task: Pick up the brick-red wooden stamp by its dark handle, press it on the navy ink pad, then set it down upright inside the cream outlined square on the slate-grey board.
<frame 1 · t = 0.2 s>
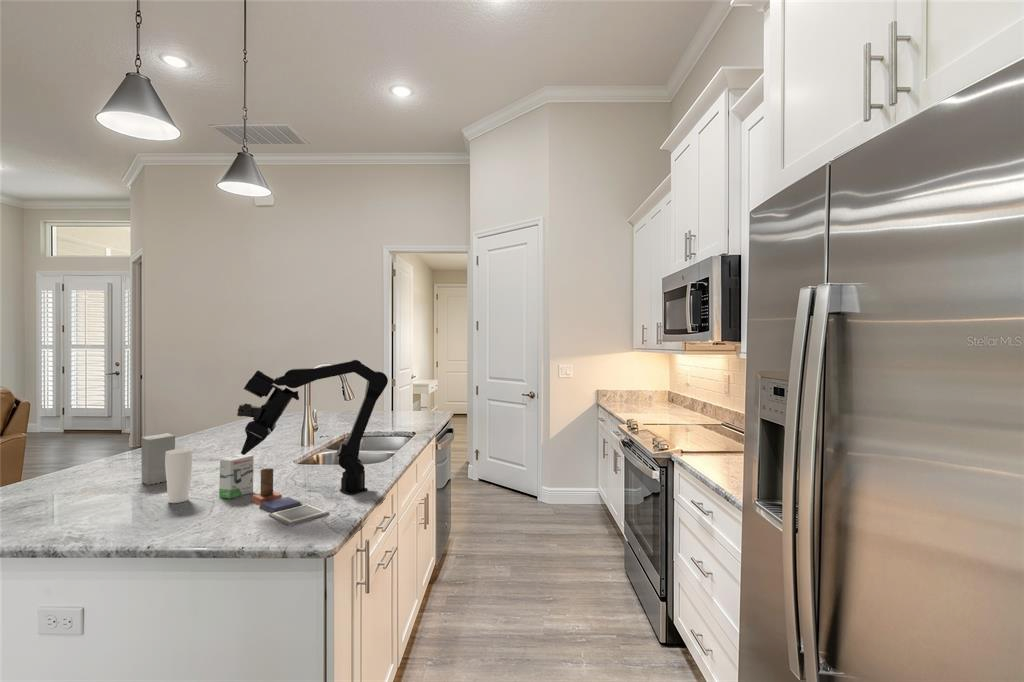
hand: (245, 451, 151), 15 cm above the worktop, tool tilted 30°, fingers open, 9 cm apart
marked board: (299, 515, 139), on the worktop
stamp: (266, 501, 151), on the worktop
ink pad: (281, 507, 145), on the worktop
skincare box: (158, 482, 172), on the worktop
drinking glass: (178, 501, 151), on the worktop
ink box: (236, 495, 158), on the worktop
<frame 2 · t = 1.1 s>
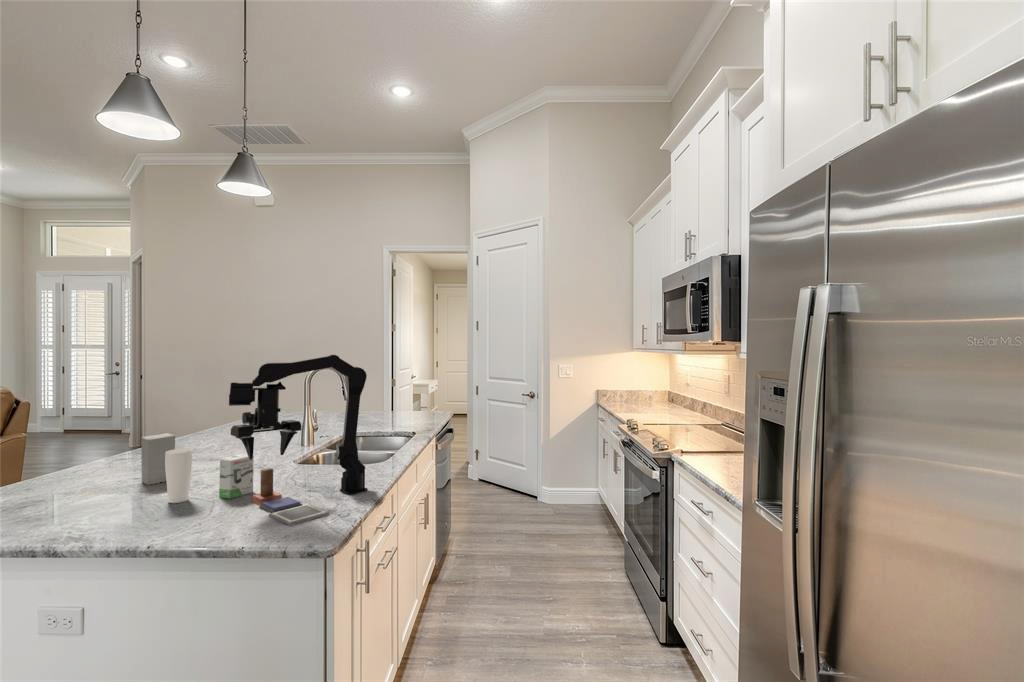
hand: (266, 457, 151), 13 cm above the worktop, tool pointing down, fingers open, 9 cm apart
nothing on the worktop moved.
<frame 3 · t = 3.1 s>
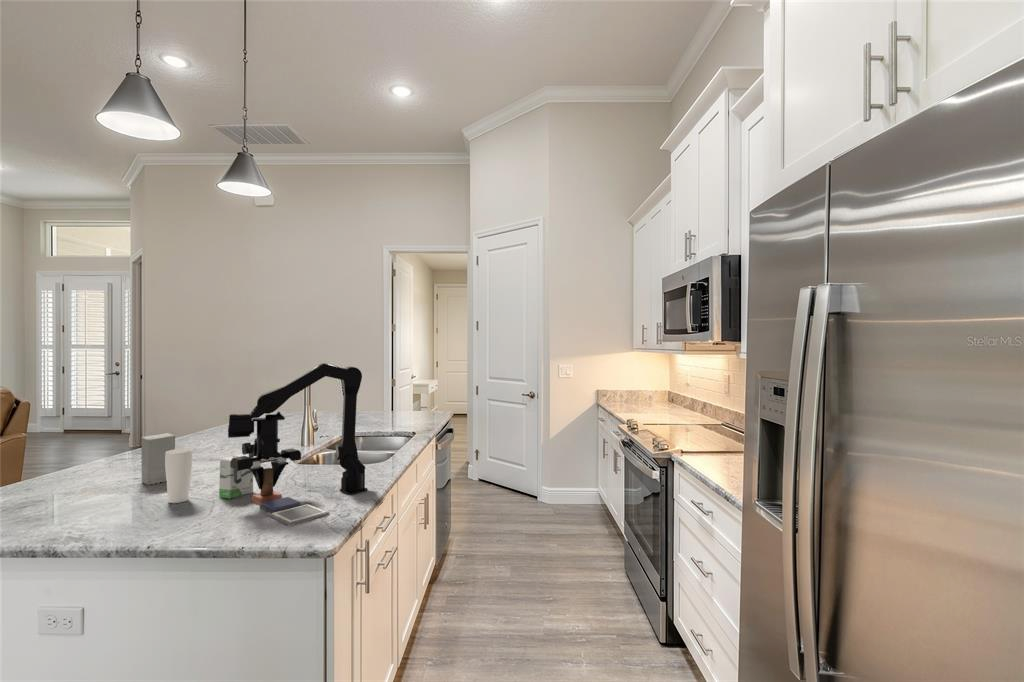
hand: (266, 487, 151), 4 cm above the worktop, tool pointing down, fingers closed on stamp, 3 cm apart
stamp: (266, 501, 151), on the worktop, touching gripper
everything else where it was.
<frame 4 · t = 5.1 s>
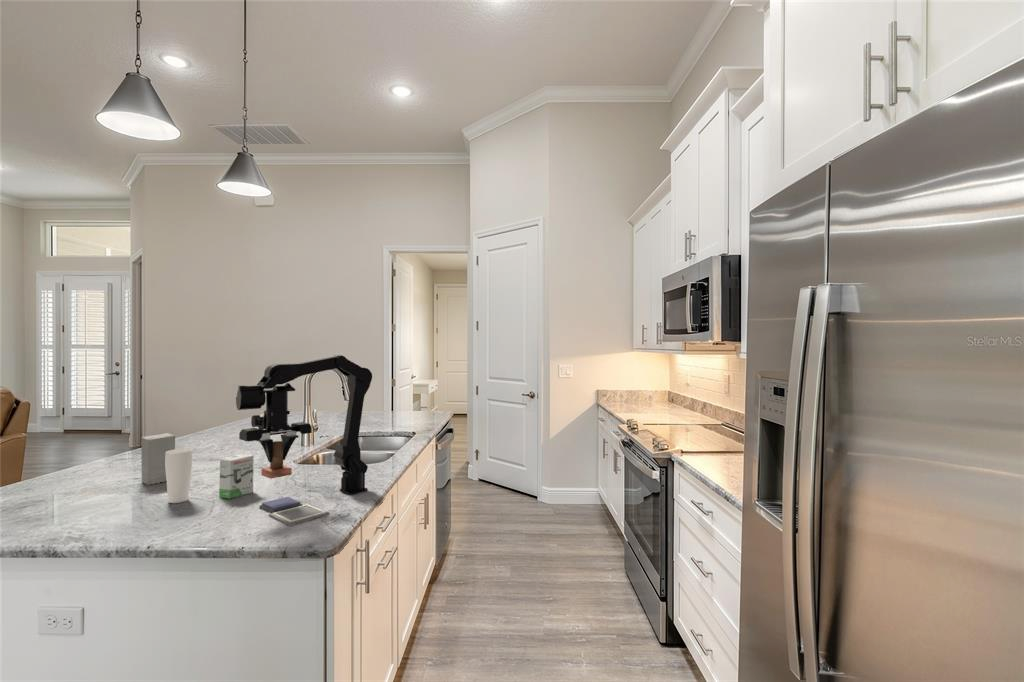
hand: (276, 460, 147), 13 cm above the worktop, tool pointing down, fingers closed on stamp, 3 cm apart
stamp: (276, 474, 147), point 9 cm above the worktop, touching gripper
everything else where it was.
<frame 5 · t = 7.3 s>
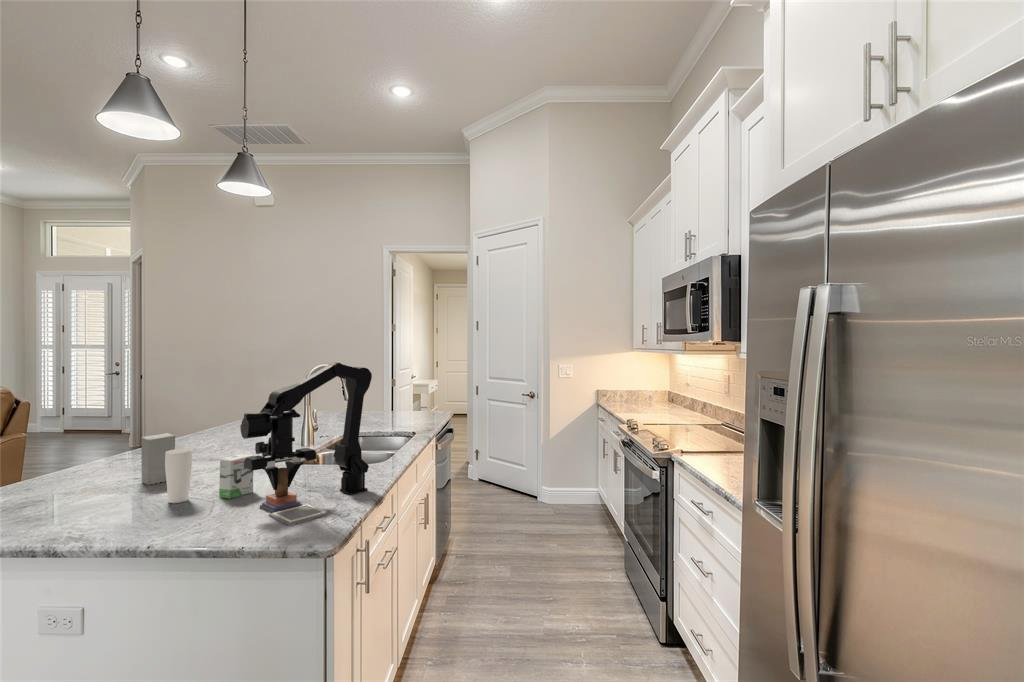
hand: (281, 488, 145), 5 cm above the worktop, tool pointing down, fingers closed on stamp, 3 cm apart
stamp: (281, 502, 145), point 1 cm above the worktop, touching gripper, ink pad
everything else where it was.
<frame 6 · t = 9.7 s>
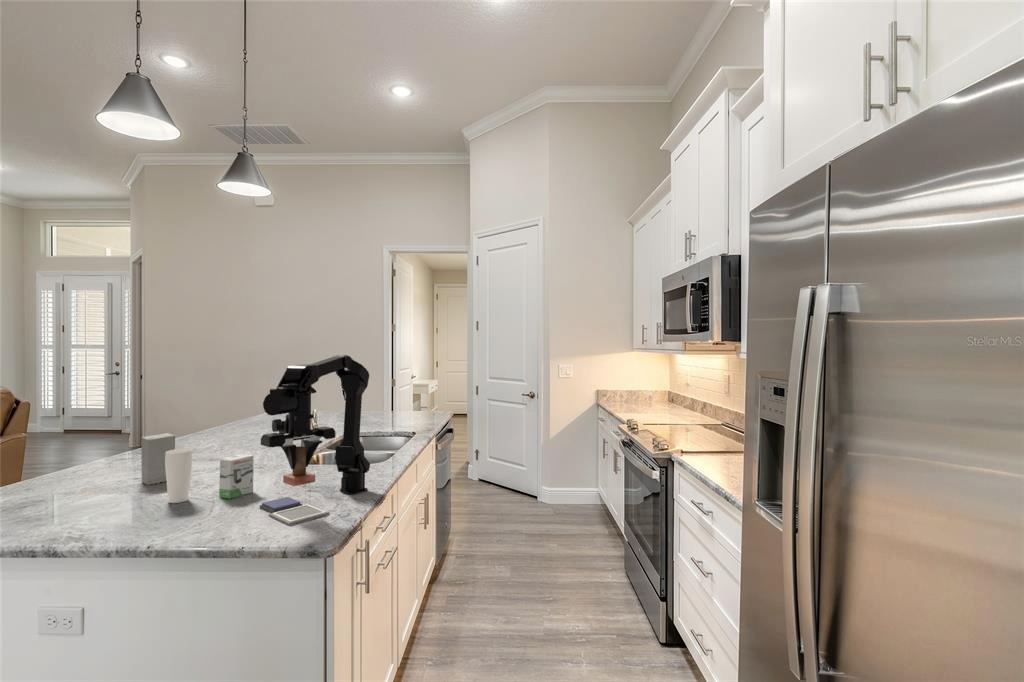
hand: (299, 467, 139), 13 cm above the worktop, tool pointing down, fingers closed on stamp, 3 cm apart
stamp: (299, 482, 139), point 9 cm above the worktop, touching gripper
everything else where it was.
when the fingers open (6 cm above the worktop, at t = 11.6 s): stamp drops 1 cm, resting on marked board.
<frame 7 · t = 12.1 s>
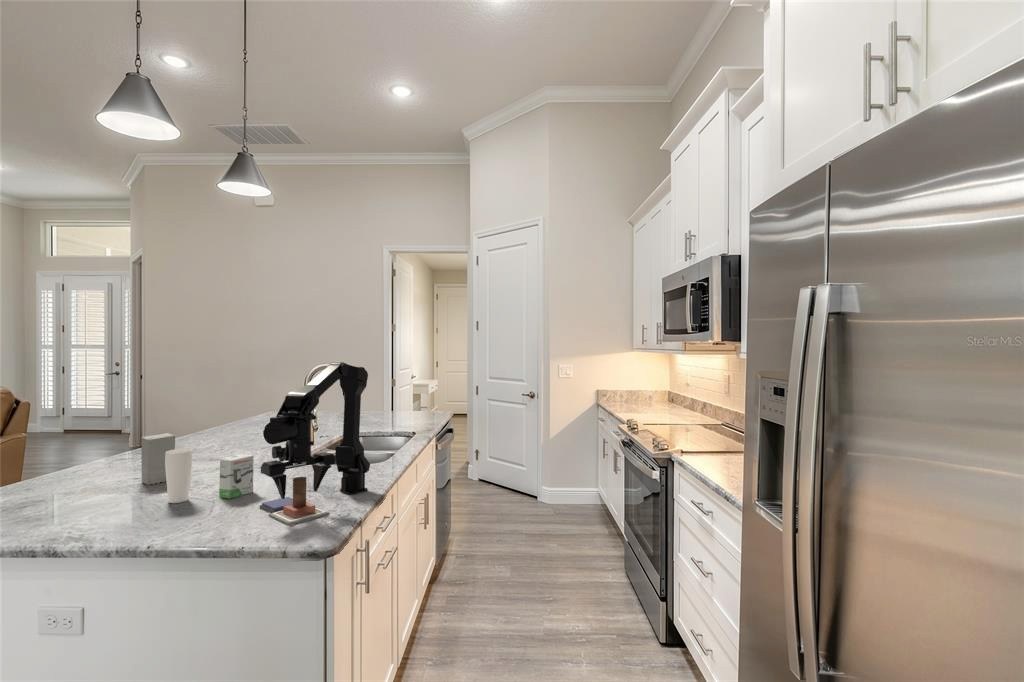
hand: (299, 494, 139), 6 cm above the worktop, tool pointing down, fingers open, 9 cm apart
stamp: (299, 513, 139), point 1 cm above the worktop, touching marked board
everything else where it was.
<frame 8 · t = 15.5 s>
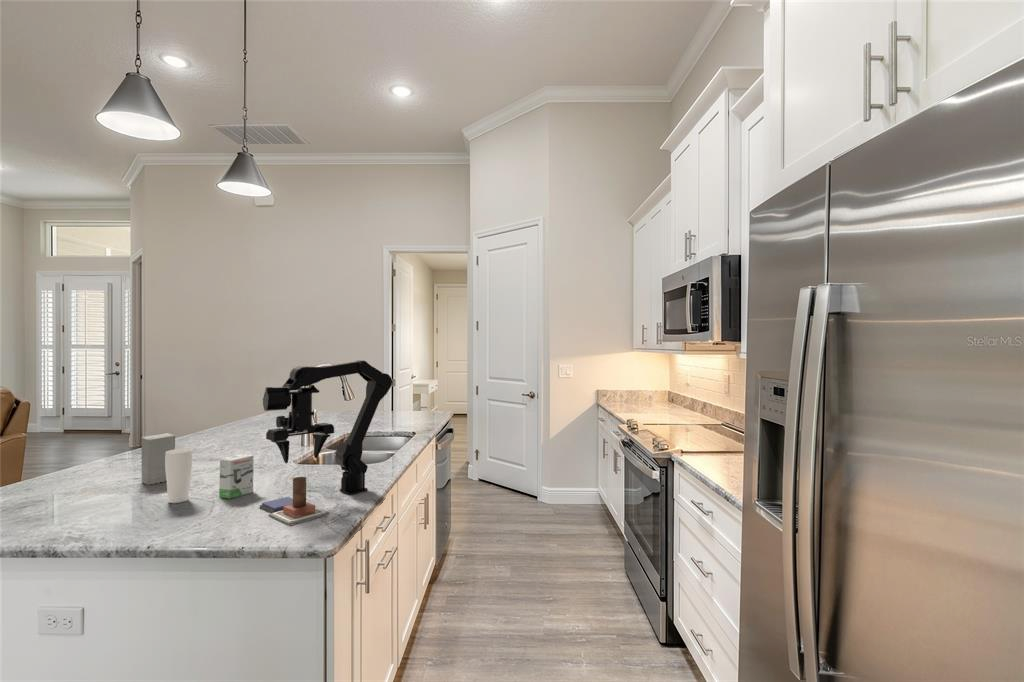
hand: (301, 460, 152), 12 cm above the worktop, tool pointing down, fingers open, 9 cm apart
nothing on the worktop moved.
at the end: stamp 0.0 cm off-centre on the marked board, point 0.6 cm above the marked board's base; stamp tilted 0°; the gripper is holding nothing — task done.
